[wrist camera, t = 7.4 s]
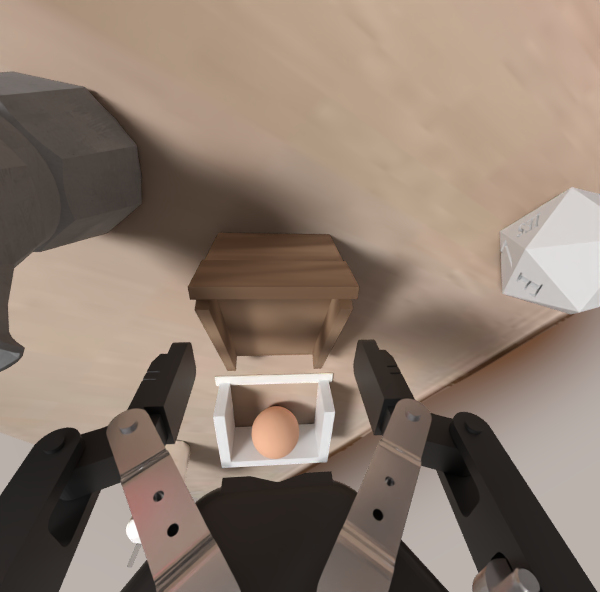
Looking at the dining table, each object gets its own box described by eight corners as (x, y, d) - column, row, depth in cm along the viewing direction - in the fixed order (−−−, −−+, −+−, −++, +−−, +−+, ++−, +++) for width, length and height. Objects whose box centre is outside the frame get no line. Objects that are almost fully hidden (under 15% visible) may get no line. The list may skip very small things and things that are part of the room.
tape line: (215, 376, 29) (215, 377, 29) (332, 373, 30) (332, 373, 30) (216, 384, 29) (216, 385, 29) (331, 381, 30) (331, 382, 30)
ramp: (218, 229, 21) (187, 287, 14) (329, 231, 22) (359, 287, 14) (230, 351, 27) (214, 437, 20) (318, 349, 28) (334, 432, 21)
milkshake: (146, 454, 34) (104, 563, 26) (168, 431, 33) (131, 540, 24) (180, 465, 36) (151, 571, 28) (203, 444, 34) (180, 550, 26)
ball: (252, 462, 31) (253, 413, 33) (298, 460, 31) (296, 411, 34) (248, 457, 26) (251, 401, 29) (302, 454, 27) (299, 399, 30)
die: (516, 164, 21) (519, 262, 17) (683, 159, 18) (746, 281, 13) (487, 243, 28) (484, 330, 23) (606, 251, 24) (630, 354, 20)
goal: (220, 382, 29) (213, 416, 26) (328, 379, 30) (335, 411, 27) (227, 433, 34) (221, 468, 30) (321, 428, 35) (326, 462, 31)
